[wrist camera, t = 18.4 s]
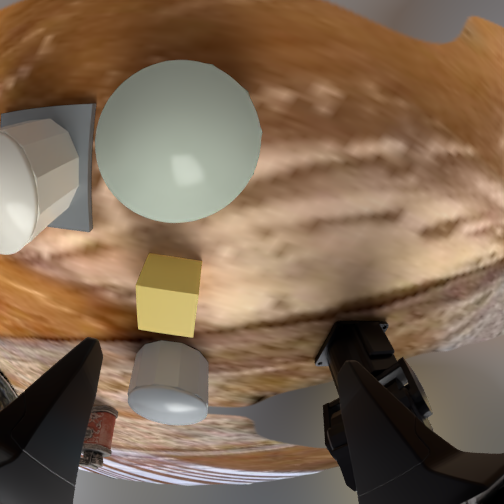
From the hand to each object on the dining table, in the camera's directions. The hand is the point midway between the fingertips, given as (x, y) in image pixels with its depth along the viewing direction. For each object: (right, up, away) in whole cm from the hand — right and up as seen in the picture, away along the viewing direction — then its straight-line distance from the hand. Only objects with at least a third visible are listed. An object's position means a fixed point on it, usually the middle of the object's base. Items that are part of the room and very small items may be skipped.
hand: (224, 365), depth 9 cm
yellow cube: (-5, +2, +12) cm, 13 cm away
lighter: (-22, -21, +23) cm, 38 cm away
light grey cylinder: (-7, -8, +17) cm, 20 cm away
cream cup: (-14, +10, +5) cm, 18 cm away
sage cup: (-3, +11, +7) cm, 13 cm away
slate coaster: (-14, +10, +6) cm, 18 cm away
